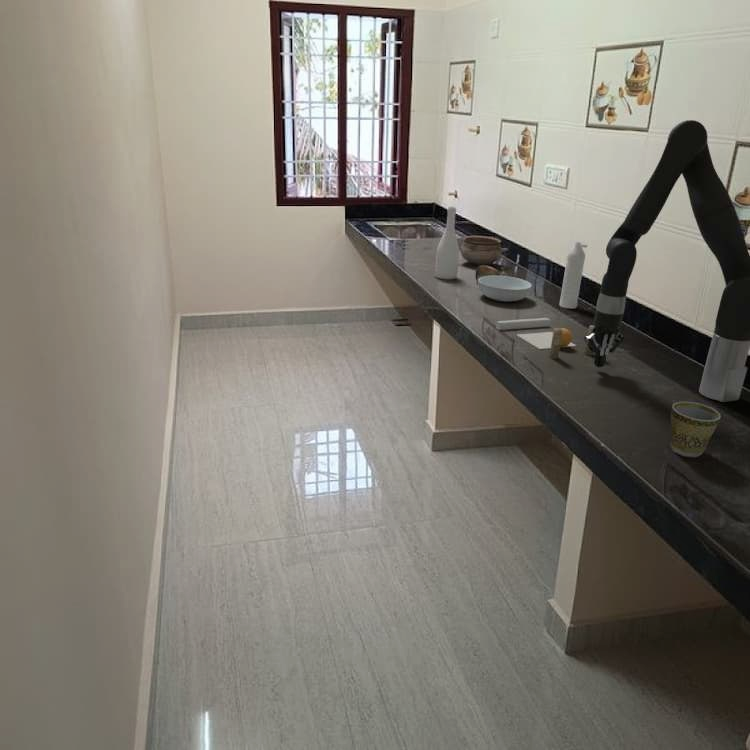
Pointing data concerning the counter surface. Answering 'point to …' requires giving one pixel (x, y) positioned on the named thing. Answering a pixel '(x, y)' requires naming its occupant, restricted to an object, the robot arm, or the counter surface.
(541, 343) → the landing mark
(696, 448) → the ceramic cup
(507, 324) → the wall
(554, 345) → the post left
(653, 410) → the counter surface
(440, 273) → the wine bottle
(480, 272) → the tin
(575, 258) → the white pump bottle
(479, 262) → the cooking pot
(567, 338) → the ball
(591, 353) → the post right
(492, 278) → the serving bowl
